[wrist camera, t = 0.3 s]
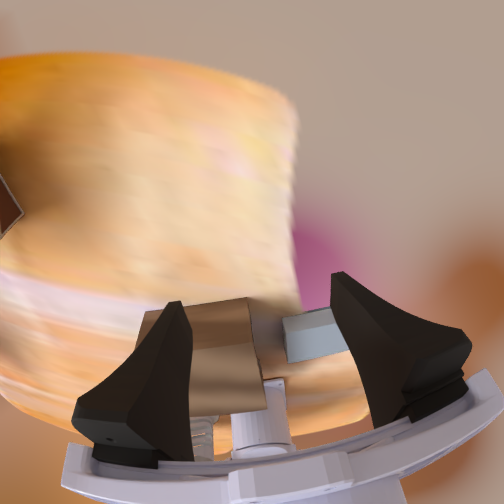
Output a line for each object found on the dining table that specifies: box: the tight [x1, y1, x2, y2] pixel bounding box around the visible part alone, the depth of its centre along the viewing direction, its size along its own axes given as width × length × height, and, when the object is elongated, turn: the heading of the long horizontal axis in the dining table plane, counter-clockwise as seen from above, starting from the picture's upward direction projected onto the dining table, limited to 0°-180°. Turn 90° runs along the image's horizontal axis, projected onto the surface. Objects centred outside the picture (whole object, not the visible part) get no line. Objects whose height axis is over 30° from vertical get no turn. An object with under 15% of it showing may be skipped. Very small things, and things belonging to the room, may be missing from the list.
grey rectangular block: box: [282, 306, 349, 364], centre depth 27 cm, size 5×7×2 cm
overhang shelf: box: [134, 297, 268, 417], centre depth 25 cm, size 12×10×6 cm
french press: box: [190, 415, 219, 462], centre depth 25 cm, size 10×12×25 cm
